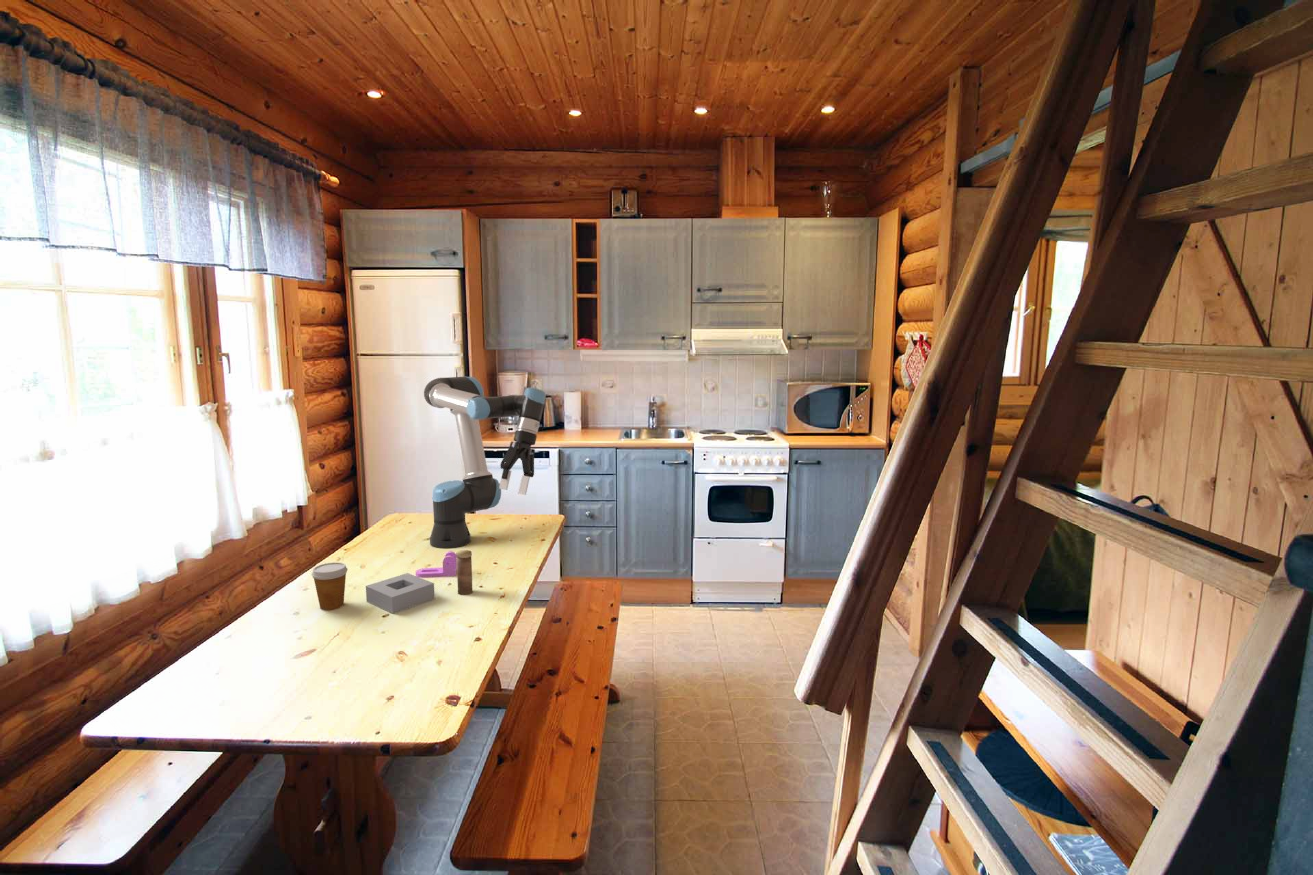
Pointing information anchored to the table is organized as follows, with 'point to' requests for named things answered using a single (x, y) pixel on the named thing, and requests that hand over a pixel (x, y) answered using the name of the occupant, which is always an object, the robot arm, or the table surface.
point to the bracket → (441, 568)
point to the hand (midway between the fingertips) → (512, 491)
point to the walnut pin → (464, 572)
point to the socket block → (400, 592)
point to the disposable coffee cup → (330, 584)
